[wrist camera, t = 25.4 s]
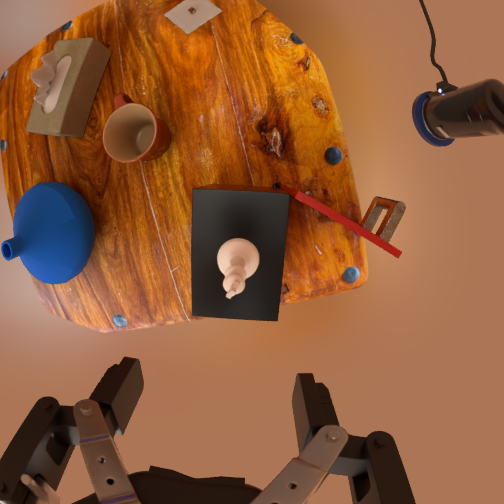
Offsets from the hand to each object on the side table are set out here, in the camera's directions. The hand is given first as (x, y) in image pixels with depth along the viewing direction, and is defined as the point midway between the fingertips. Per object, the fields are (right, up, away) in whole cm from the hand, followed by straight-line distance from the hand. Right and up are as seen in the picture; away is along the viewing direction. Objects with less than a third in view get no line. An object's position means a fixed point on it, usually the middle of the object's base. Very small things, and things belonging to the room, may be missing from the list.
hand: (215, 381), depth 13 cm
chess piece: (0, +6, +20) cm, 21 cm away
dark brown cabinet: (0, +10, +35) cm, 36 cm away
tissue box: (-32, +38, +27) cm, 57 cm away
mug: (-16, +27, +30) cm, 44 cm away
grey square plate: (-9, +51, +24) cm, 57 cm away
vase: (-34, +12, +35) cm, 50 cm away
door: (+15, +16, +33) cm, 40 cm away
